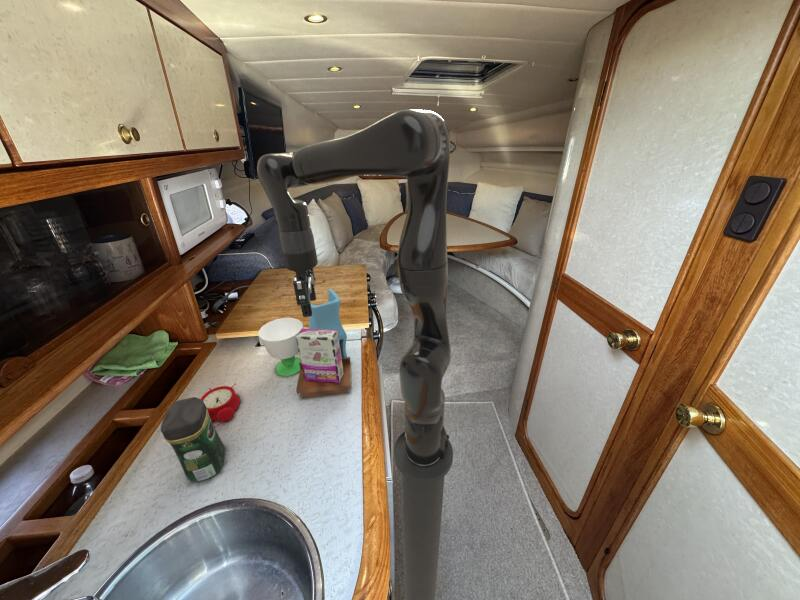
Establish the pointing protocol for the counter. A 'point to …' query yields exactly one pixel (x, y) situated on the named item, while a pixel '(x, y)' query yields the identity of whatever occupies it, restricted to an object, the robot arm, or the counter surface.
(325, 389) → the wooden serving tray
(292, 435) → the counter surface
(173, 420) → the coffee jar
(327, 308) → the blue forked stand
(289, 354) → the cup
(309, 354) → the candy bar box
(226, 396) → the alarm clock
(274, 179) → the robot arm
